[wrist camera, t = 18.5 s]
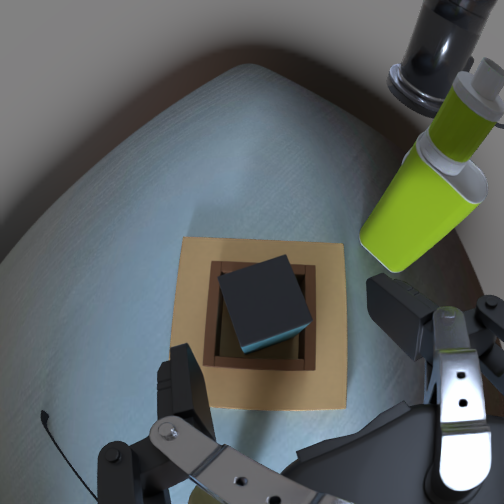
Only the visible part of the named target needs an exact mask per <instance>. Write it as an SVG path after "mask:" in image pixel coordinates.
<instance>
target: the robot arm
mask: <svg viewBox="0 0 504 504" xmlns="http://www.w3.org/2000/svg"><path fill="white" fill-rule="evenodd" d="M497 1H498V0H423V4H422V6H421V10H420V13H419V16H418V19H417V22H416V25H415V28H414V30H413V34H412V36H411V39H410V42H409V45H408V47H407V50H406V53H405V56H404V57H403V60H402V63H401V65H400V67H399V70H398V77H399V79H400V80H401V82H402V83H403V84H404V85H405V86H406V87H407V88H408V89H410V90H411V91H412V92H414V93H415V94H417V95H418V96H420V97H422V98H424V99H426V100H428V101H431V102H434V103H439V104H443V102H444V100H445V98H446V96H447V94H448V93H449V91H450V89H451V87H452V84H453V82H454V80H455V78H456V76H457V74H458V72H461V71H464V72H468V73H469V71H470V69H471V67H472V65H473V63H474V59H473V57H472V56H471V54H472V53H473V51H474V48H475V46H476V44H477V42H478V40H479V37H480V36H481V33H482V31H483V29H484V26H485V24H486V22H487V19H488V17H489V15H490V13H491V11H492V9H493V8H494V6H495V4H496V3H497ZM494 126H496V127H498V128H502V129H504V124H499V123H496V124H495V125H494ZM366 288H367V309H368V312H369V315H370V317H371V318H372V320H373V321H374V322H375V323H376V324H377V325H378V326H379V327H380V328H381V329H382V330H383V331H384V332H385V333H386V334H387V335H388V336H389V337H390V338H391V339H392V340H393V341H394V342H395V343H396V344H397V345H398V346H399V347H400V348H401V349H402V350H403V351H404V352H405V353H406V354H407V355H408V356H409V357H410V358H411V359H412V360H413V361H414V362H415V361H417V360H418V359H420V358H422V357H424V358H425V359H426V360H425V387H424V403H423V404H418V405H413V406H408V405H407V404H406V402H405V401H402V402H400V403H399V404H397V405H395V406H393V407H392V408H390V409H388V410H386V411H384V412H383V413H381V414H379V415H378V416H377V417H376V418H375V419H374V420H372V421H371V422H370V423H369V424H368V425H366V426H365V427H364V428H363V429H361V430H360V431H359V432H357V433H355V434H351V435H347V436H342V437H338V438H333V439H328V440H324V441H322V442H319V443H317V444H314V445H312V446H309V447H307V448H304V449H301V450H299V451H296V453H297V456H298V459H297V460H295V461H294V462H292V463H291V464H290V465H289V466H287V467H286V468H285V469H284V470H283V471H282V472H281V474H279V473H277V472H275V471H273V470H271V469H269V468H267V467H265V466H264V465H262V464H260V463H258V462H256V461H255V460H253V459H251V458H249V457H248V456H246V455H244V454H242V453H241V452H239V451H237V450H236V449H234V448H232V447H231V446H229V445H226V444H223V445H220V444H218V443H217V442H216V437H215V432H214V427H213V422H212V417H211V412H210V407H209V401H208V396H207V390H206V384H205V379H204V376H203V373H202V370H201V368H200V366H199V364H198V362H197V360H196V358H195V356H194V354H193V352H192V350H191V348H190V346H189V344H188V343H184V344H181V345H177V346H174V347H170V360H169V361H166V362H162V364H161V366H160V368H159V370H158V372H157V382H158V384H157V390H158V391H157V415H158V420H157V421H156V422H155V423H154V424H153V426H152V427H151V429H150V433H149V436H148V437H146V438H145V439H143V440H141V441H139V442H137V443H134V444H132V445H130V446H128V445H127V444H126V443H124V442H122V441H113V442H110V443H108V444H106V445H105V446H104V447H103V448H102V449H101V451H100V452H99V455H98V471H97V495H98V504H171V500H170V495H169V489H168V488H170V487H172V486H174V485H176V484H178V483H180V482H182V481H184V480H186V479H188V478H189V479H190V480H191V481H192V482H194V483H195V484H196V485H197V486H199V487H200V488H201V489H203V490H204V491H205V492H207V493H208V494H209V495H211V496H212V497H213V498H215V499H216V500H218V501H219V502H220V503H222V504H504V417H498V416H492V415H486V414H485V402H484V393H483V385H482V377H481V372H482V373H483V374H484V375H485V376H486V377H487V378H488V379H489V381H490V382H491V383H492V384H493V385H494V386H495V387H496V388H497V389H498V390H499V391H500V392H501V393H502V394H503V395H504V350H503V349H502V348H500V347H499V346H498V345H497V344H496V343H495V340H496V337H498V338H499V339H500V340H502V341H503V342H504V301H503V300H502V299H500V298H498V297H497V296H494V295H484V296H481V297H480V298H479V299H478V300H477V304H476V308H474V309H471V310H468V311H464V312H462V311H461V310H459V309H458V308H455V307H451V306H444V307H441V308H440V307H439V306H437V305H436V304H435V303H433V302H432V301H431V300H429V299H428V298H427V297H425V296H424V295H423V294H421V293H419V292H418V291H417V290H416V289H413V287H412V286H410V285H409V284H407V283H406V282H403V281H400V280H397V279H394V280H392V279H391V278H390V277H388V276H387V275H386V274H384V273H380V274H378V275H376V276H373V277H371V278H368V279H367V281H366Z"/></svg>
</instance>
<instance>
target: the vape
mask: <svg viewBox="0 0 504 504" xmlns="http://www.w3.org/2000/svg"><path fill="white" fill-rule="evenodd" d="M503 86H504V70H503V69H502V68H501V67H500V66H499V65H497V64H496V63H495V62H493V61H492V60H490V59H488V58H485V57H484V58H483V59H482V61H481V63H480V65H479V67H478V68H477V70H476V72H475V74H474V75H473V74H471V73H468V72H464V71H461V72H458V74H457V76H456V78H455V80H454V82H453V84H452V87H451V89H450V91H449V93H448V94H447V96H446V98H445V100H444V102H443V104H442V106H441V107H440V109H439V111H438V113H437V115H436V116H435V118H434V120H433V122H432V123H431V125H429V127H428V128H427V130H426V131H425V132H423V133H421V134H420V135H419V137H418V138H417V140H416V142H415V143H414V145H413V147H412V148H411V149H410V150H409V151H408V152H407V153H406V155H405V156H404V158H403V161H402V165H401V167H400V169H399V170H398V172H397V174H396V175H395V177H394V178H393V180H392V182H391V183H390V185H389V186H388V188H387V190H386V191H385V193H384V194H383V196H382V197H381V199H380V201H379V202H378V204H377V205H376V207H375V208H374V210H373V211H372V213H371V214H370V216H369V217H368V219H367V220H366V222H365V223H364V225H363V226H362V228H361V230H360V233H359V240H360V243H361V245H362V246H363V247H364V248H365V249H366V250H368V251H369V252H370V253H371V254H372V255H373V256H374V257H375V258H376V259H377V260H378V261H379V262H380V263H381V264H382V265H383V266H385V267H386V268H387V269H388V270H389V271H390V272H393V273H398V272H401V271H403V270H404V269H406V268H407V267H408V266H409V265H411V264H412V263H413V262H414V261H416V260H417V259H418V258H419V257H420V256H422V255H423V254H424V253H425V252H427V251H428V250H429V249H430V248H431V247H433V246H434V245H435V244H436V243H437V242H438V241H440V240H441V239H442V238H443V237H444V236H445V235H447V234H448V233H449V232H450V231H451V230H452V229H453V228H454V227H456V226H457V225H458V224H459V223H460V222H461V221H462V220H463V219H464V218H466V217H467V216H468V215H469V214H470V213H471V212H472V211H473V210H474V209H475V208H476V207H477V206H478V205H479V204H480V203H481V202H483V201H484V199H485V198H486V196H487V194H488V183H487V179H486V177H485V175H484V173H483V172H482V170H481V169H480V168H479V167H478V166H476V164H474V162H473V161H472V160H470V157H471V156H472V155H473V153H474V152H475V151H476V150H477V148H478V147H479V145H480V144H481V143H482V142H483V140H484V139H485V138H486V136H487V135H488V134H489V132H490V131H491V130H492V128H493V127H494V125H495V124H496V123H497V121H499V119H500V118H501V117H502V115H503V114H504V103H503V101H502V99H501V98H500V96H499V95H498V94H499V92H500V91H501V89H502V87H503Z"/></svg>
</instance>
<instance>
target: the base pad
mask: <svg viewBox="0 0 504 504" xmlns="http://www.w3.org/2000/svg"><path fill="white" fill-rule="evenodd" d="M284 254H286V255H287V257H288V260H289V262H290V265H291V267H292V269H293V272H294V274H295V277H296V279H297V282H298V284H299V287H300V289H301V291H302V294H303V296H304V299H305V301H306V304H307V306H308V309H309V311H310V314H311V316H312V319H313V321H312V322H311V323H310V324H309V325H307V326H306V327H305V328H304V329H303V330H302V331H301V332H299V333H298V334H297V335H296V336H295V337H293V338H291V339H289V340H286V341H283V342H281V343H278V344H275V345H272V346H270V347H267V348H264V349H261V350H258V351H255V352H252V353H249V354H246V355H245V354H244V352H243V350H242V348H241V346H240V344H239V341H238V338H237V335H236V332H235V329H234V326H233V324H232V321H231V318H230V315H229V312H228V309H227V306H226V303H225V300H224V297H223V294H222V291H221V288H220V285H219V282H218V279H217V277H218V276H221V275H224V274H227V273H230V272H233V271H236V270H239V269H242V268H245V267H248V266H251V265H254V264H257V263H260V262H263V261H266V260H269V259H272V258H275V257H278V256H281V255H284ZM184 343H188V344H189V346H190V348H191V350H192V352H193V354H194V356H195V358H196V360H197V362H198V364H199V366H200V368H201V370H202V373H203V376H204V379H205V384H206V390H207V396H208V401H209V407H216V408H228V409H244V410H270V411H307V410H333V409H346V398H347V298H346V276H345V259H344V245H343V244H342V243H322V242H301V241H279V240H256V239H232V238H206V237H183V241H182V248H181V255H180V262H179V269H178V277H177V285H176V293H175V302H174V311H173V320H172V330H171V341H170V347H174V346H177V345H181V344H184ZM169 360H170V352H169Z"/></svg>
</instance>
